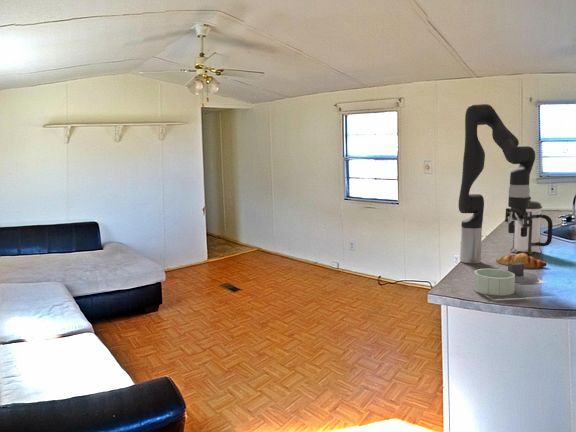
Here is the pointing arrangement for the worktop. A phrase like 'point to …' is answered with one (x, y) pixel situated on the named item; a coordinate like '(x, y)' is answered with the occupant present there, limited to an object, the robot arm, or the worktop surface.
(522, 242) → the coffee press
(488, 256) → the worktop surface
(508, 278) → the bowl
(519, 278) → the lid
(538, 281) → the mat
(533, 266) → the croissant
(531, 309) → the worktop surface
